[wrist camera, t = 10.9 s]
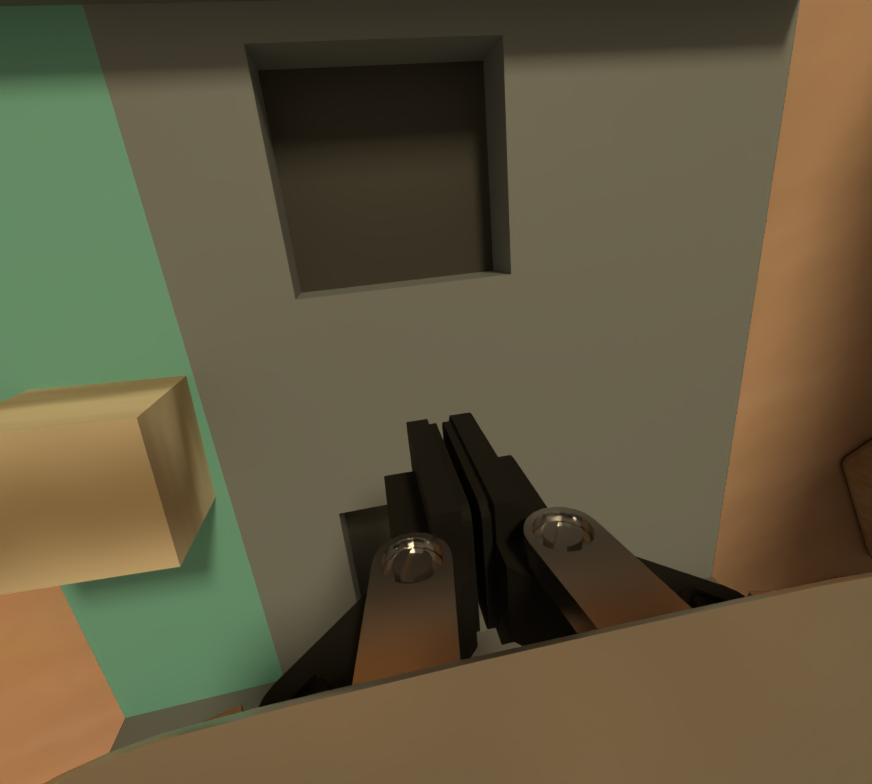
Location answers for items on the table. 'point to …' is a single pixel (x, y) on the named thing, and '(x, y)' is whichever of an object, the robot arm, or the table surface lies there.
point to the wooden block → (861, 488)
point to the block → (99, 482)
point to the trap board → (383, 277)
